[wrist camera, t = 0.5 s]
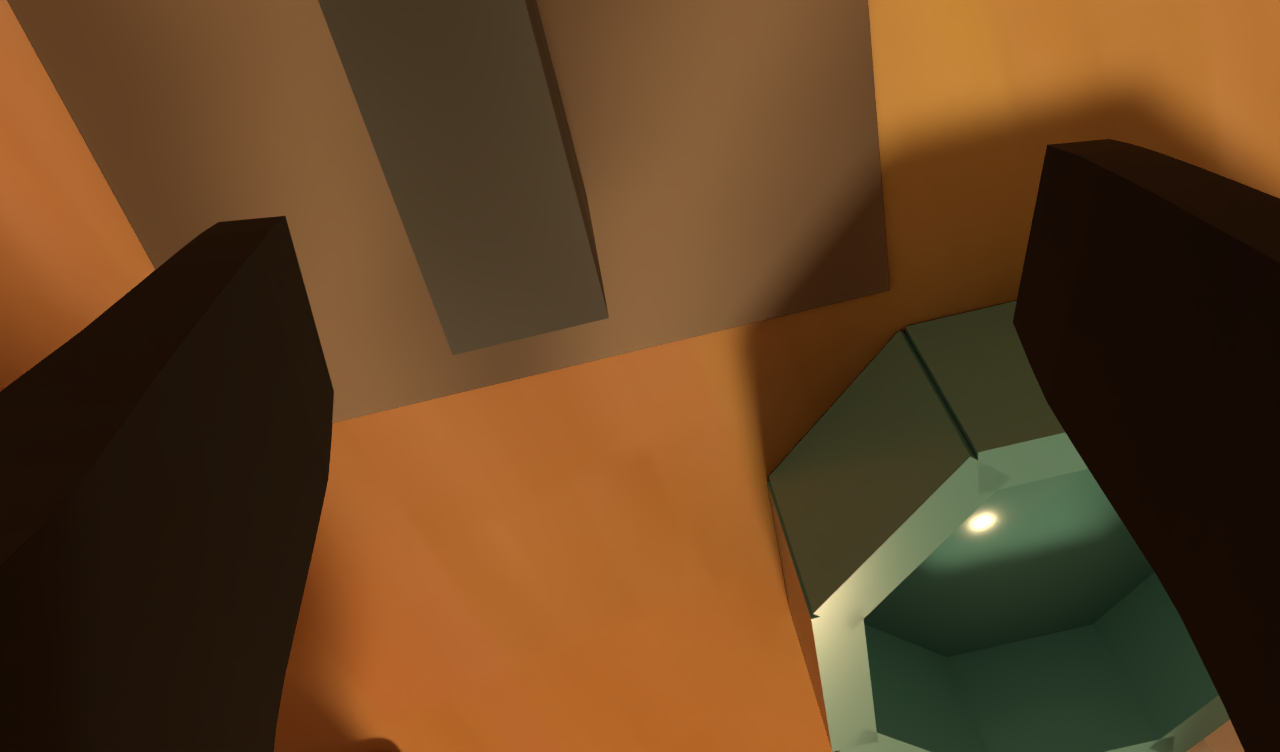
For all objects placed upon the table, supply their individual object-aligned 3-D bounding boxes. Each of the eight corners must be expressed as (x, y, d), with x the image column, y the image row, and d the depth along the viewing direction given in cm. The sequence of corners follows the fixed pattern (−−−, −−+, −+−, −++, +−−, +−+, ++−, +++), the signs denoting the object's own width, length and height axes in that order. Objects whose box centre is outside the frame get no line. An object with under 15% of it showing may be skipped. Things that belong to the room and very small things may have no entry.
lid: (257, 417, 22) (211, 591, 18) (-138, -317, 15) (-357, -282, 11) (877, 269, 22) (962, 414, 18) (809, -558, 14) (932, -613, 10)
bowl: (804, 693, 29) (845, 833, 25) (746, 363, 22) (791, 495, 19) (1217, 600, 28) (1311, 730, 25) (1281, 238, 22) (1419, 350, 19)
